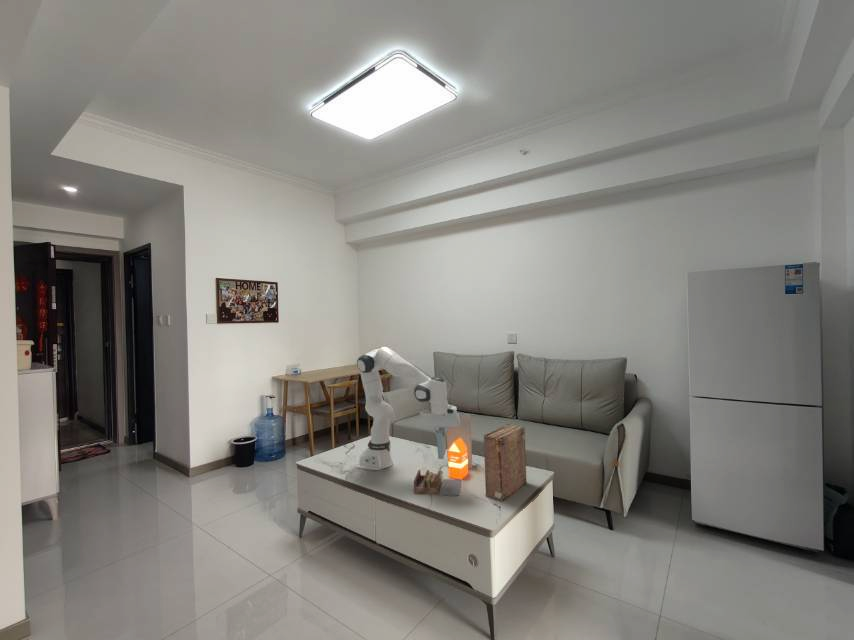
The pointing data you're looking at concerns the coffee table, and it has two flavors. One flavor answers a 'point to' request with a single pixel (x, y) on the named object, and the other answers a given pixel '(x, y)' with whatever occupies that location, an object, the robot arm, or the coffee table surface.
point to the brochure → (461, 436)
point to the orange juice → (458, 460)
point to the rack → (425, 489)
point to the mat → (450, 487)
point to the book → (504, 461)
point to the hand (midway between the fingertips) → (441, 435)
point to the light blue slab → (441, 443)
